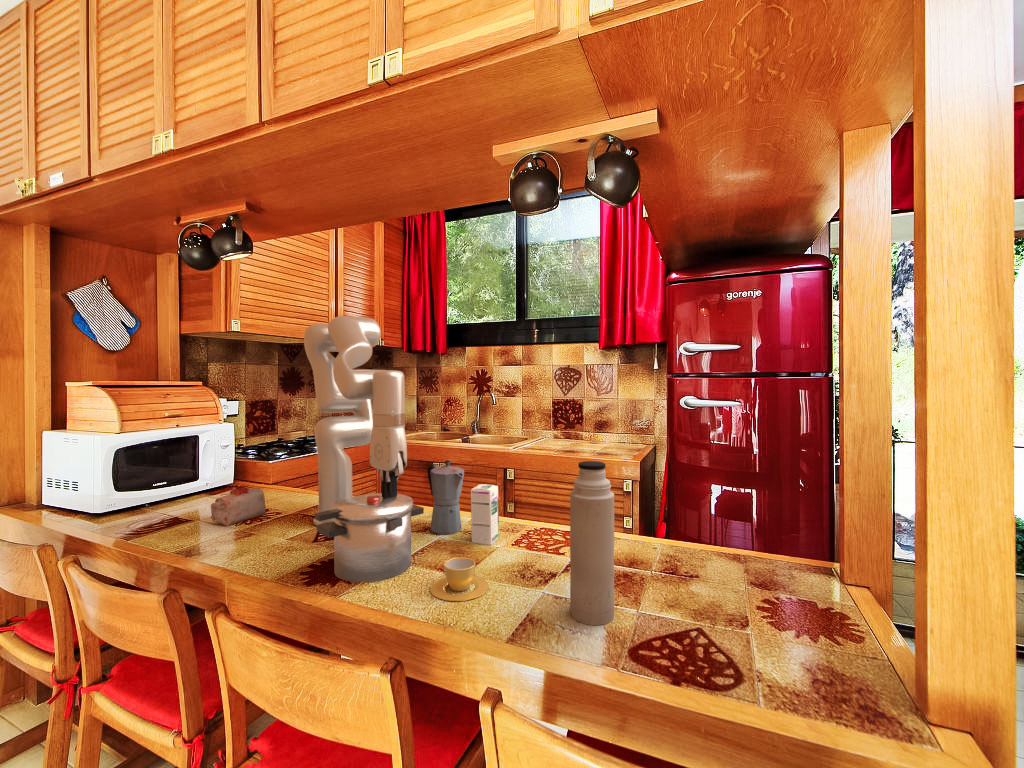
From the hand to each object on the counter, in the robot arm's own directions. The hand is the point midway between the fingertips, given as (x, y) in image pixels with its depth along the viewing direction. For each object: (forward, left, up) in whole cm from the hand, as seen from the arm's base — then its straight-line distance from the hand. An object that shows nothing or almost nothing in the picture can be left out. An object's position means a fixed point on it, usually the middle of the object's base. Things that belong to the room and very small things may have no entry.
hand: (389, 496), depth 111 cm
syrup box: (+8, +24, -15) cm, 29 cm away
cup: (+25, +1, -15) cm, 29 cm away
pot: (+2, -5, -15) cm, 16 cm away
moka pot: (-7, +22, -15) cm, 27 cm away
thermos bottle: (+50, +12, -15) cm, 54 cm away
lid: (+2, -7, -2) cm, 8 cm away
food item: (-60, -16, -15) cm, 63 cm away
